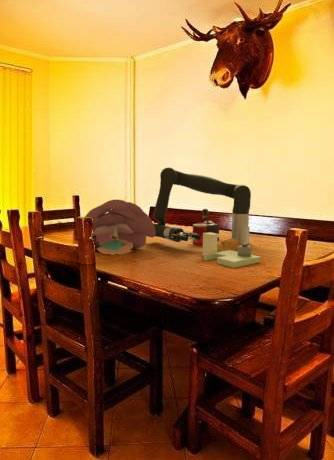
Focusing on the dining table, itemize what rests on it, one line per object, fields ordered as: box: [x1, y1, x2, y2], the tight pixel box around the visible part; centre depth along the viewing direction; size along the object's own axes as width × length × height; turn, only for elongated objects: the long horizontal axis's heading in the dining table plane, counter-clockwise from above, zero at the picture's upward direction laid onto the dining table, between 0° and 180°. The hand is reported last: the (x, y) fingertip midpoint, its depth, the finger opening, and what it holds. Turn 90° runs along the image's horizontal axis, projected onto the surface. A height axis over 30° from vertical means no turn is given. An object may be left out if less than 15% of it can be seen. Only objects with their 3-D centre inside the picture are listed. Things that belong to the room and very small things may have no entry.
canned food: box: [192, 223, 207, 246], centre depth 201 cm, size 8×8×11 cm
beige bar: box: [202, 232, 220, 257], centre depth 168 cm, size 4×6×11 cm
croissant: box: [217, 237, 243, 252], centre depth 182 cm, size 21×10×8 cm, turn 108°
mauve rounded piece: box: [84, 199, 156, 256], centre depth 179 cm, size 35×24×28 cm
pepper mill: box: [199, 208, 220, 241], centre depth 220 cm, size 16×11×18 cm
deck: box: [203, 243, 261, 269], centre depth 159 cm, size 17×18×8 cm
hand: (193, 238), depth 177 cm, fingers open, 8 cm apart
